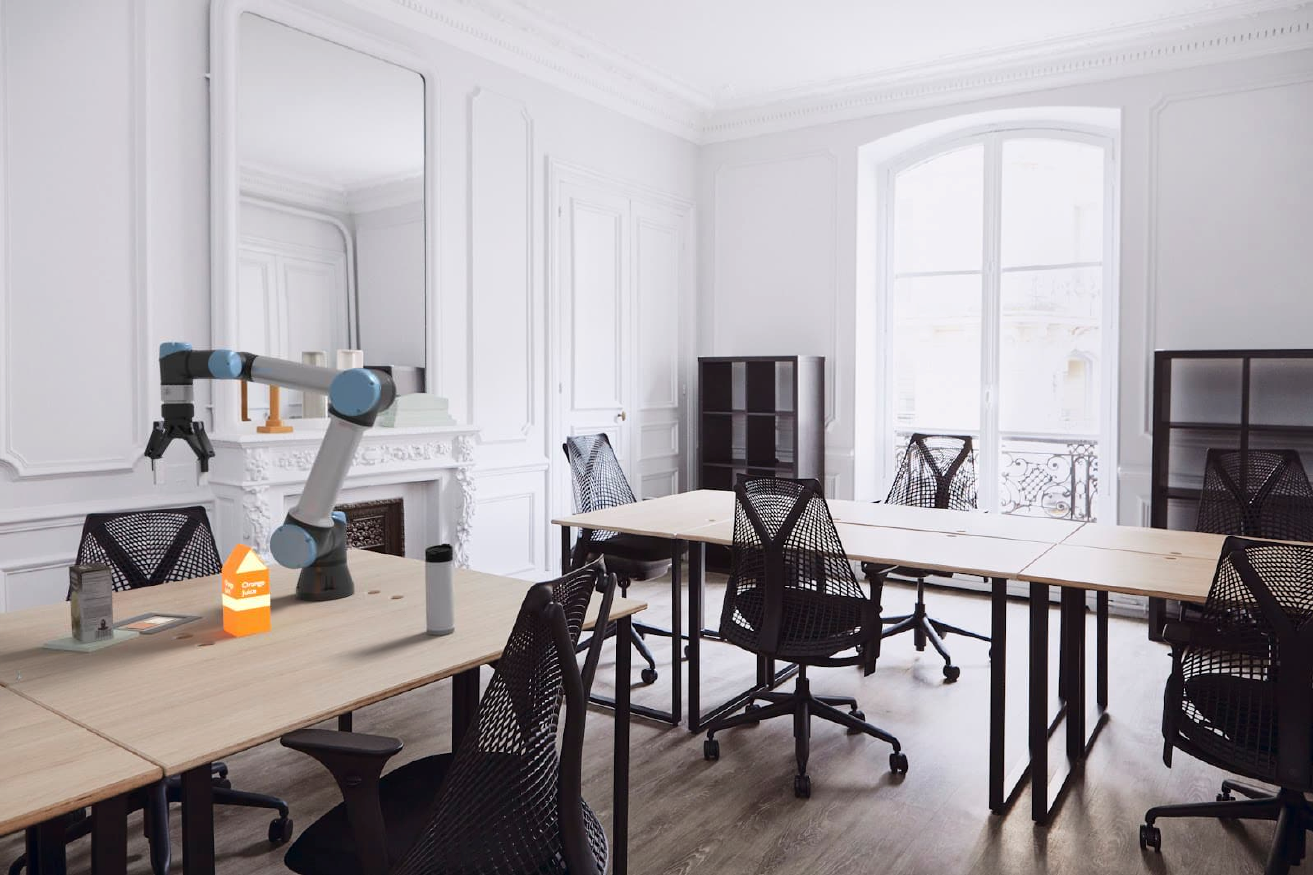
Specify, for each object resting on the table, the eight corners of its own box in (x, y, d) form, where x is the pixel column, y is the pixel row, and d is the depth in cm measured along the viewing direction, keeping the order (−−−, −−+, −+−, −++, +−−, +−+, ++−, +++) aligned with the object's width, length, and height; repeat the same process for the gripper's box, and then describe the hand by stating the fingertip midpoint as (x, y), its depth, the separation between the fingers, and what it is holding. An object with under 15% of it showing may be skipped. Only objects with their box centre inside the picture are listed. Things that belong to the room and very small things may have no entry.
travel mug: (460, 629, 209) (458, 544, 208) (445, 636, 203) (443, 549, 202) (437, 627, 211) (435, 542, 210) (421, 634, 205) (419, 547, 204)
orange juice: (257, 623, 216) (254, 541, 215) (271, 630, 209) (268, 545, 208) (222, 630, 210) (219, 545, 209) (236, 637, 204) (233, 550, 203)
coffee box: (70, 636, 202) (67, 565, 201) (102, 630, 206) (99, 561, 205) (82, 644, 195) (79, 571, 194) (115, 638, 200) (112, 566, 199)
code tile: (202, 617, 221) (202, 616, 221) (151, 634, 207) (151, 633, 207) (149, 613, 226) (149, 612, 226) (96, 629, 211) (96, 628, 211)
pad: (139, 636, 205) (139, 631, 205) (89, 652, 193) (89, 647, 193) (94, 632, 209) (94, 628, 209) (42, 647, 196) (42, 643, 196)
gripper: (126, 402, 231) (129, 485, 232) (206, 402, 224) (209, 487, 225) (150, 402, 238) (153, 482, 239) (228, 402, 231) (231, 484, 233)
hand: (180, 484), depth 232 cm, fingers open, 13 cm apart
